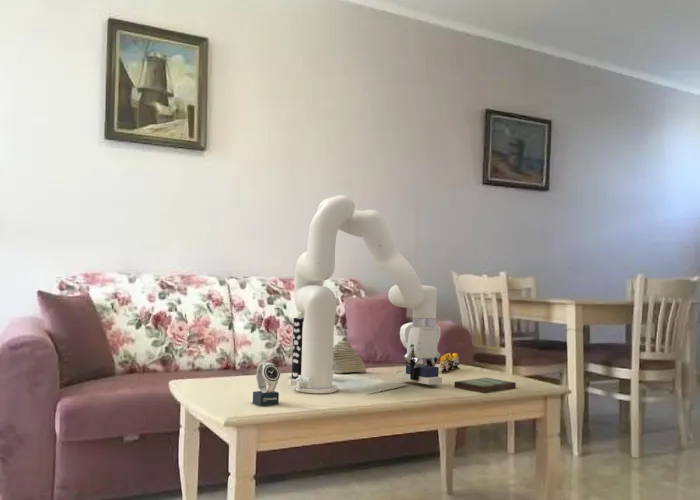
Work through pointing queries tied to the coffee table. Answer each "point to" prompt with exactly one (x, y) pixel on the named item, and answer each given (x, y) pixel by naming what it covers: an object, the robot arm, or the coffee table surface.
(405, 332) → the heart sculpture
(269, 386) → the watch
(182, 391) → the coffee table surface
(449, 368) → the figurine set
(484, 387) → the green brown rectangular slab
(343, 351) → the fossil tooth
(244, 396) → the coffee table surface
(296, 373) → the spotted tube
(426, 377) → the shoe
